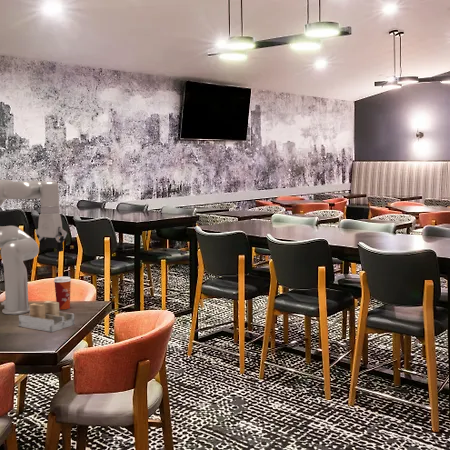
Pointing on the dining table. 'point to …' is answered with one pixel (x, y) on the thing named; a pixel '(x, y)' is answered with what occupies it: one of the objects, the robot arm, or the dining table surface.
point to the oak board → (37, 310)
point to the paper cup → (63, 292)
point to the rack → (47, 321)
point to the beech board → (51, 308)
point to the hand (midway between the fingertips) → (51, 250)
